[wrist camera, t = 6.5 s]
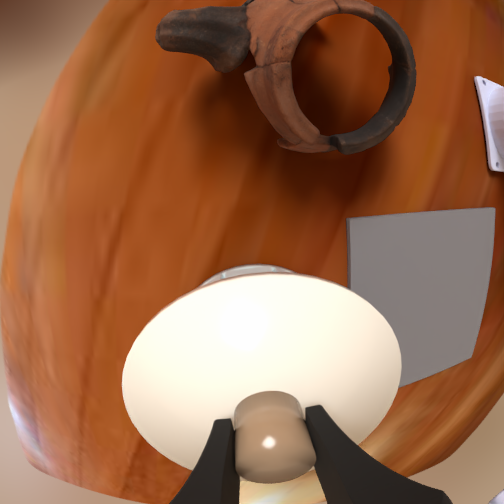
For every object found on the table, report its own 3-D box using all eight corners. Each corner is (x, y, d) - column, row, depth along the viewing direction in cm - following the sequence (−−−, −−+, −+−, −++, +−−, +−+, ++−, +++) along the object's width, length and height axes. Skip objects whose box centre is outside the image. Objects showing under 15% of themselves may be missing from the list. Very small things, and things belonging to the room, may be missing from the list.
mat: (491, 207, 16) (495, 208, 16) (468, 354, 20) (471, 357, 19) (346, 218, 16) (349, 219, 15) (340, 399, 19) (342, 403, 19)
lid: (435, 301, 11) (484, 335, 8) (333, 473, 14) (346, 513, 10) (137, 235, 10) (92, 262, 6) (128, 452, 12) (115, 497, 9)
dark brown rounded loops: (346, 14, 13) (441, 20, 7) (324, 131, 19) (400, 183, 13) (163, -16, 9) (169, -68, 4) (153, 127, 15) (151, 185, 10)
